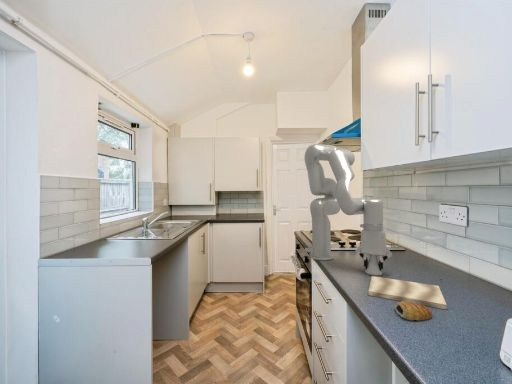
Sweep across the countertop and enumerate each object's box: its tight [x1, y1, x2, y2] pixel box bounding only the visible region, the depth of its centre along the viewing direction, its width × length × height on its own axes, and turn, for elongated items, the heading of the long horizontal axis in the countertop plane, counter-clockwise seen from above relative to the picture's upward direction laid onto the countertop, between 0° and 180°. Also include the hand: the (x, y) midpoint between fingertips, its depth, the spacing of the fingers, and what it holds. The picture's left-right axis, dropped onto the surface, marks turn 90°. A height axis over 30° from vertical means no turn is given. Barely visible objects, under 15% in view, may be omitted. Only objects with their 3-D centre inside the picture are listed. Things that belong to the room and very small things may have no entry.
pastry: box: [394, 301, 433, 322], centre depth 74 cm, size 9×7×4 cm
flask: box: [364, 254, 383, 277], centre depth 108 cm, size 7×7×10 cm
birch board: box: [368, 275, 448, 311], centre depth 89 cm, size 22×16×2 cm
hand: (373, 269), depth 108 cm, fingers closed on flask, 4 cm apart
